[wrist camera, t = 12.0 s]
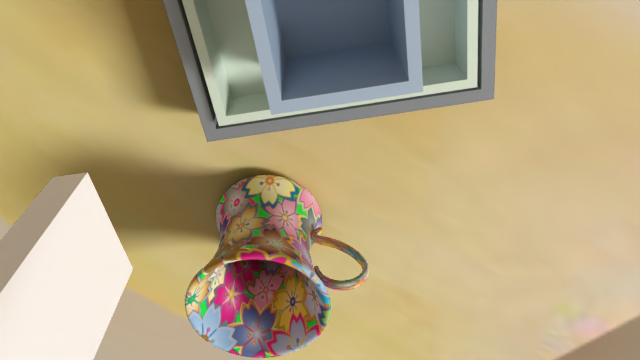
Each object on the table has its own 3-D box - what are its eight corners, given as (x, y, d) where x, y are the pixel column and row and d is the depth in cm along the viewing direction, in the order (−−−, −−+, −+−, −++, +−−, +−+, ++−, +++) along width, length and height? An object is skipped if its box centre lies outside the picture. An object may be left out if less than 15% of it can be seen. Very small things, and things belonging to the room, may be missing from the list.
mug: (227, 261, 43) (205, 365, 34) (199, 172, 38) (165, 264, 29) (363, 246, 43) (377, 347, 34) (353, 153, 38) (367, 242, 29)
